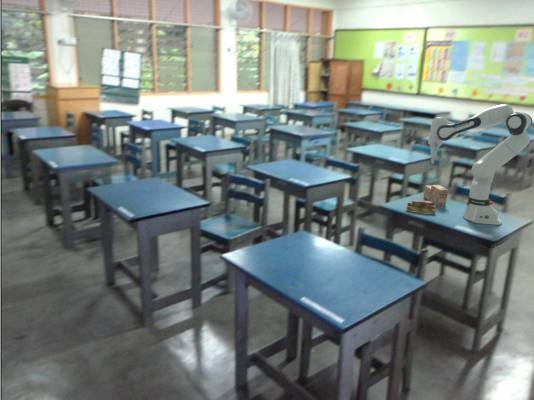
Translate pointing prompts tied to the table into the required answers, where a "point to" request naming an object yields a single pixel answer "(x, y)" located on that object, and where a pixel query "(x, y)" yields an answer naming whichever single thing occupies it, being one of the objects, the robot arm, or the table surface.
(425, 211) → the tan shallow tray
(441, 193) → the stack of blocks
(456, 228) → the table surface
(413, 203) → the walnut block
